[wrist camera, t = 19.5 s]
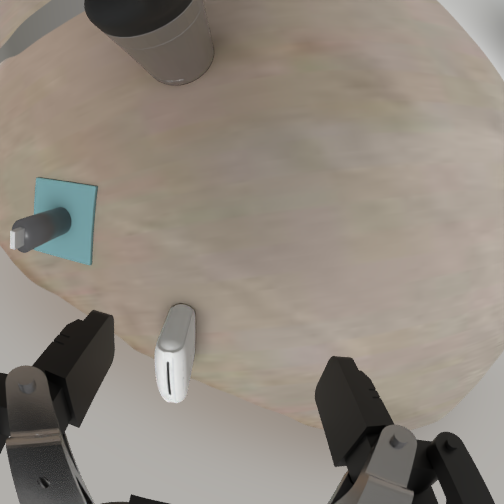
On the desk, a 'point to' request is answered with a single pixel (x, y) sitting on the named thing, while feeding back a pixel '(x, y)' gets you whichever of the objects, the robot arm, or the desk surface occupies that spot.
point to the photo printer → (175, 353)
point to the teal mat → (82, 217)
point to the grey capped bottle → (39, 229)
